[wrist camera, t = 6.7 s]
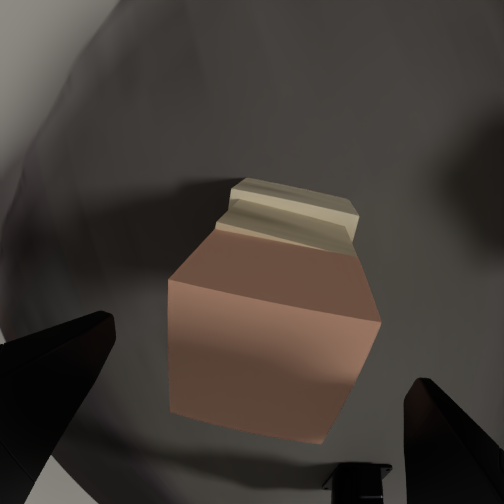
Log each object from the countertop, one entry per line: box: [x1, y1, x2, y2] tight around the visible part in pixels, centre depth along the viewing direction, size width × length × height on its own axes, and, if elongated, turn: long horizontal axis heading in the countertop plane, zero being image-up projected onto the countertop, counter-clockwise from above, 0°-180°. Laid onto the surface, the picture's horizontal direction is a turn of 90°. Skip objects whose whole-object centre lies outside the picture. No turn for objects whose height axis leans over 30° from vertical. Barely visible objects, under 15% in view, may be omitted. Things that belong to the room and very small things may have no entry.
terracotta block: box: [168, 229, 382, 444], centre depth 10 cm, size 5×5×4 cm
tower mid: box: [215, 199, 357, 257], centre depth 13 cm, size 5×5×4 cm
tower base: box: [228, 178, 359, 242], centre depth 17 cm, size 6×6×4 cm
